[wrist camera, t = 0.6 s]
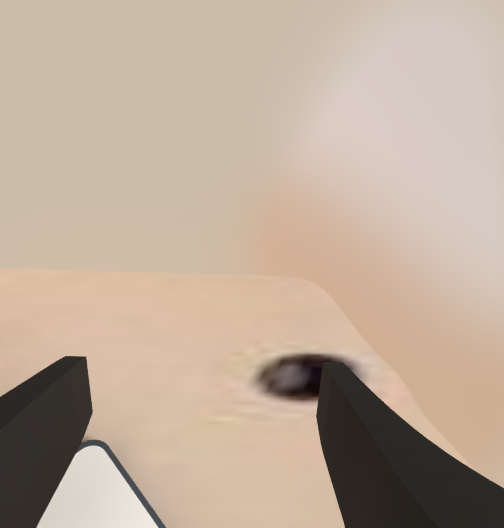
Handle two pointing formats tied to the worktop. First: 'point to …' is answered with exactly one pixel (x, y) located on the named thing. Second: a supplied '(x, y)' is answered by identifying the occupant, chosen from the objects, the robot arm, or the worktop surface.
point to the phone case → (98, 494)
